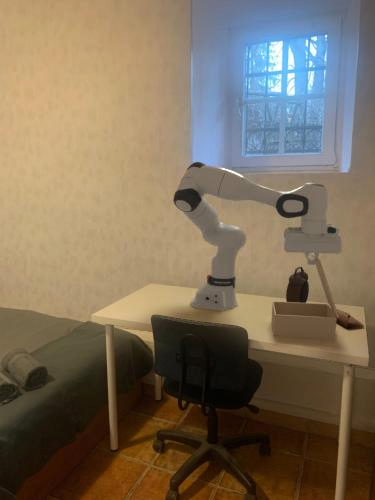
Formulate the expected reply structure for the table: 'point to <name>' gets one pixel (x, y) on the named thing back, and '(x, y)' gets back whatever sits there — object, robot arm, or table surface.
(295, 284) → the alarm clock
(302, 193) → the robot arm
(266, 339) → the table surface
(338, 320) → the sunglasses case
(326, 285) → the carton flap
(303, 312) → the carton
